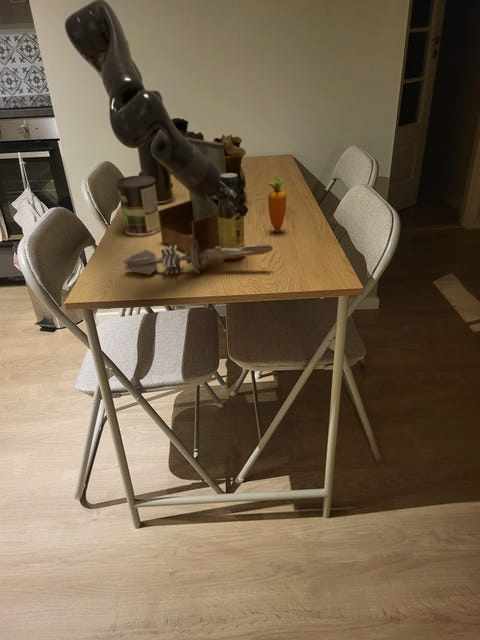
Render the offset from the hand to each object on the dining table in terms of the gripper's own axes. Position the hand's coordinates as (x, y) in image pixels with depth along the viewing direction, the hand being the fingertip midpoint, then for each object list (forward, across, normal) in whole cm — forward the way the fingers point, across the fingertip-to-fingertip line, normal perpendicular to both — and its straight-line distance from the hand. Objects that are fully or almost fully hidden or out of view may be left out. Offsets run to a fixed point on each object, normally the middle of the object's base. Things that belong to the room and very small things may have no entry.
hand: (235, 209), depth 113 cm
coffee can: (+4, -33, -12) cm, 35 cm away
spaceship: (-1, 0, -18) cm, 18 cm away
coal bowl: (+40, -76, +24) cm, 90 cm away
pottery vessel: (+30, -35, +14) cm, 48 cm away
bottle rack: (+6, -13, -10) cm, 18 cm away
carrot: (+20, -1, +4) cm, 21 cm away
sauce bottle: (+7, 0, -9) cm, 12 cm away
